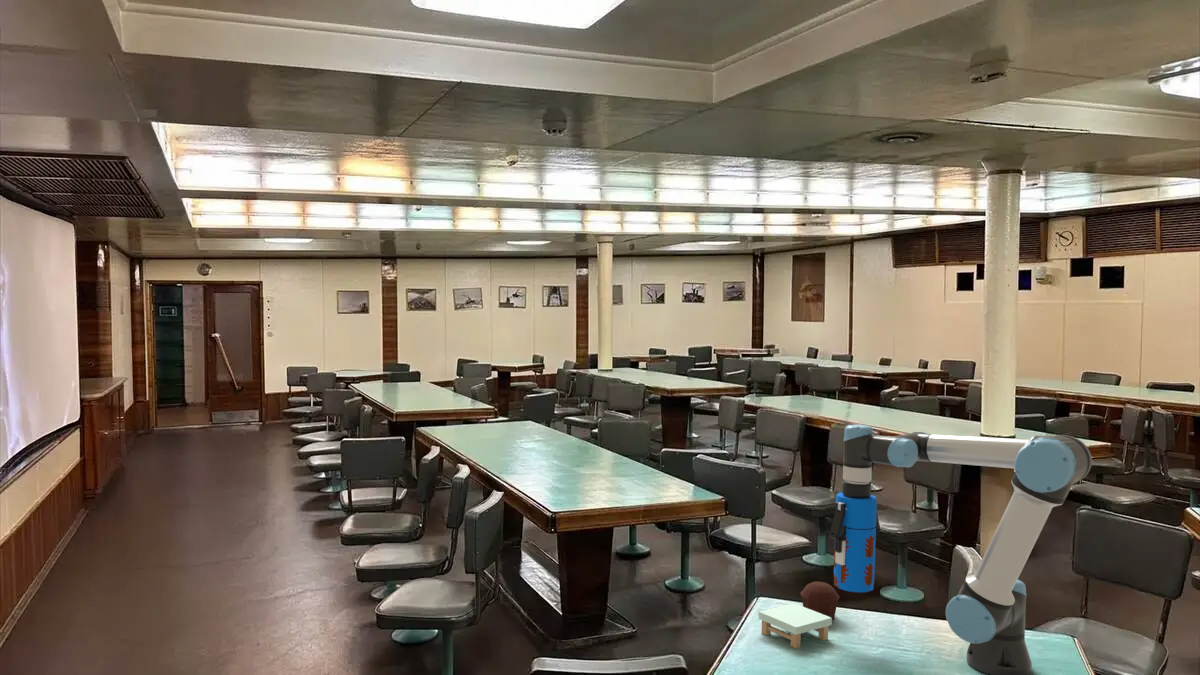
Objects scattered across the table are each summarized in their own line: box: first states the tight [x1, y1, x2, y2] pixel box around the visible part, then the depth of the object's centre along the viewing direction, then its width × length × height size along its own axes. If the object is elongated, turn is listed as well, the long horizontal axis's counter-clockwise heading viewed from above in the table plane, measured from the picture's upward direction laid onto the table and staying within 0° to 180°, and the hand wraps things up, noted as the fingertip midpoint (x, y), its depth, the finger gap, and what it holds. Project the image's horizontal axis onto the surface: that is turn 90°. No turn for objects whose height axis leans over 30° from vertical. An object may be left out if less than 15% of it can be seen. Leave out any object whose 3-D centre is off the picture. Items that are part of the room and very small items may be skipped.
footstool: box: [758, 602, 833, 649], centre depth 233 cm, size 14×14×6 cm
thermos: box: [833, 491, 878, 593], centre depth 229 cm, size 11×11×25 cm
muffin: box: [799, 581, 840, 621], centre depth 249 cm, size 12×11×10 cm
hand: (854, 560), depth 230 cm, fingers closed on thermos, 11 cm apart
